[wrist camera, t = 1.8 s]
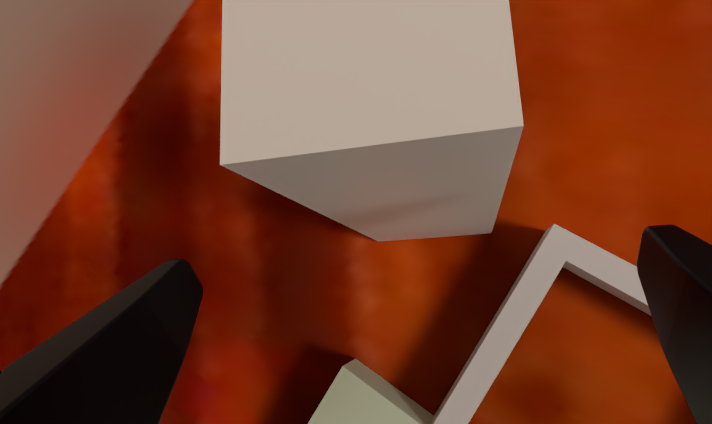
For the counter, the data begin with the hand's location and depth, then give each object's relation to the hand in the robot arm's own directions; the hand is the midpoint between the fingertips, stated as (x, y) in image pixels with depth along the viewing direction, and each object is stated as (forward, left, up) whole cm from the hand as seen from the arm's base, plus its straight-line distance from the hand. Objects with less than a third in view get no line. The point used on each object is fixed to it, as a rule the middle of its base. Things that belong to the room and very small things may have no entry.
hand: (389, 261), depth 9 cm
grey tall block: (+3, +2, -11) cm, 12 cm away
